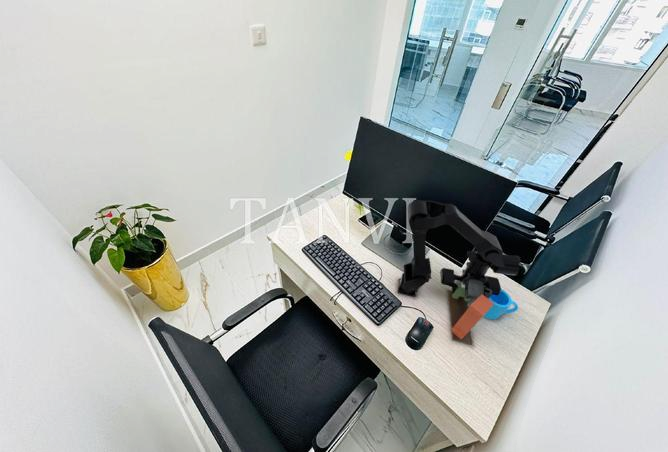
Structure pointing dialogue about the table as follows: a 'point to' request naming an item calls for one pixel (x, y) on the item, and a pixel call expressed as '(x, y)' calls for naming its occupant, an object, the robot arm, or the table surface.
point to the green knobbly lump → (460, 292)
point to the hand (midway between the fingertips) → (461, 294)
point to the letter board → (458, 316)
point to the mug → (500, 305)
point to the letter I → (472, 316)
